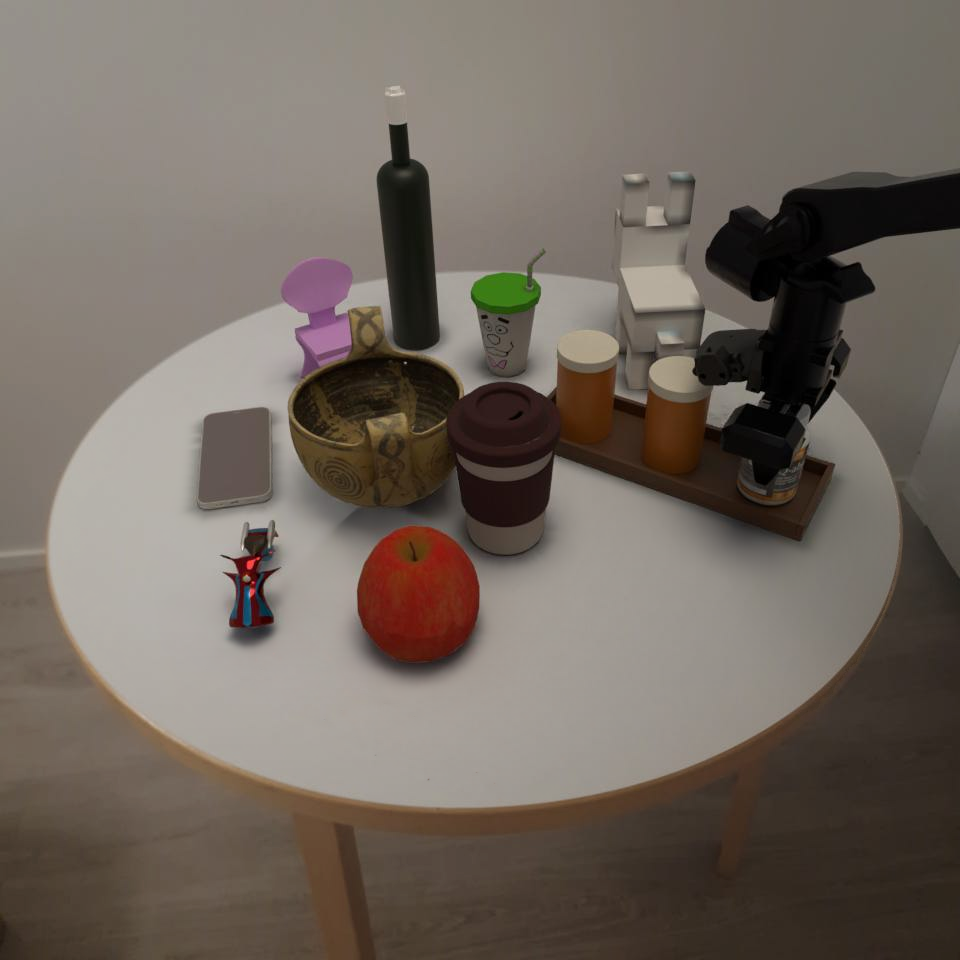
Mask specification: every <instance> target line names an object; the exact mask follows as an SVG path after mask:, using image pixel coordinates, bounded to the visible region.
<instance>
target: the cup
mask: <svg viewBox="0 0 960 960" xmlns="http://www.w3.org/2000/svg"><path fill="white" fill-rule="evenodd" d="M545 254H546V250H545V249H544V248H541V249H540V250H539V251H538V252H537V253H536V254H535V255H534V256H533V257H532V258H531V259H530V260H529V261H528V263H527V268H526V274H523V273H519V272H518V273H517V272H505V271H502V272H497V273H492V274H487V275H485V276H483V277H481V278H479V279H477V280H476V281H475V282H473V285H472V287H471V290H470V299H471V301H472V303H473V304H474V306H475V309H476V315H477V319H478V320H477V321H478V324H479V330H480V335H481V341H482V345H483V346H482V347H483V351H484V356H485V361H486V362H485V363H486V367H487V369H488V371H489V372H490V374H492V375H493V376H494V375H495V376H496V377H499V378H512V377H513V378H514V377H517V376H519V375H521V374H522V373H524V372H525V371H526V367H527V362H528V357H529V356H528V355H529V350H530V344H531V337H532V332H533V325H534V319H535V312H536V306H537V305H538V304H539V301H540V299H541V296H542V287H541V285H540V284H539V283H538V281H537V280H536V279H535V278H533V267H534V265H535V263H537V261H539V260H540V259H541V258H542V257H543V256H544V255H545Z"/></svg>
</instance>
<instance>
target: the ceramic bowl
mask: <svg viewBox="0 0 960 960" xmlns="http://www.w3.org/2000/svg"><path fill="white" fill-rule="evenodd" d="M346 313H347V314H348V316H349V323H350V332H351V342H352V344H351V350H350V352H349V353H348V355H347V356H346V357H344V358H341V359H338V360H336V361H333V362H330V363H328V364H325V365H323V366H321V367H319V368H317V369H316V370H314V371H313V372H311V373H310V374H308V375H307V376H305V377H302V378H301V379H300V381H299V382H298V383H297V384H296V385H295V387H294V388H293V389H292V391H291V393H290V395H289V397H288V401H287V414H288V426H289V427H288V428H289V434H290V438H291V442H292V445H293V447H294V450H295V453H296V455H297V457H298V460H299V461H300V463H301V465H302V466H303V469H304V470H305V472H306V473H307V475H308V476H309V477H310V479H312V480H313V481H314V483H315V484H316V485H317V486H319V488H321V489H322V490H323V491H324V492H325V493H327V494H328V495H330V496H331V497H332V498H335V499H337V500H339V501H342V502H344V503H347V504H350V505H354V506H357V507H363V508H370V509H388V508H389V509H390V508H396V507H401V506H406V505H410V504H412V503H414V502H415V503H416V502H417V501H420V500H422V499H424V498H426V497H427V496H430V495H431V494H433V493H434V492H435V491H436V490H438V489H439V488H440V487H441V486H443V485H444V483H445V482H446V481H447V480H448V479H449V478H450V476H451V475H452V473H453V472H454V470H456V464H455V458H454V449H453V448H452V447H451V445H450V443H449V441H448V437H447V428H446V419H447V414H448V412H449V410H450V409H451V407H452V406H453V405H454V404H455V403H456V402H457V401H458V400H459V399H460V398H462V397H463V396H465V387H464V385H463V383H462V380H461V379H460V377H459V375H458V374H457V373H456V372H455V371H454V369H453V368H451V366H449V365H448V364H446V363H445V362H444V361H441V360H439V359H437V358H435V357H433V356H430V355H426V354H423V353H419V352H413V351H403V350H400V349H396V348H394V347H393V346H392V345H391V344H390V343H389V341H388V339H387V335H386V330H385V326H384V318H383V311H382V306H381V305H372V306H356V307H353V308H349V309H348V310H347V312H346Z"/></svg>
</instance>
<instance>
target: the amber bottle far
mask: <svg viewBox="0 0 960 960" xmlns="http://www.w3.org/2000/svg"><path fill="white" fill-rule="evenodd" d="M619 355H620V354H619V344H618V342H617V341H616V340H615V337H613V336H612V335H610V334H608V333H606V332H604V331H599V330H593V329H579V330H574V331H571V332H568V333H566V334H564V335H563V336H561V338H560V339H558V341H557V344H556V358H557V362H556V363H557V365H556V366H557V367H556V368H557V369H556V387H557V396H556V406H557V408H558V410H559V412H560V415H561V437H563V438H564V439H567V440H570V441H573V442H576V443H580V444H590V443H595V442H599V441H601V440H603V439H605V438H606V437H607V436H608V435H609V434H610V432H611V429H612V417H613V405H614V394H615V393H616V392H615V391H616V378H617V368H618V367H617V366H618V361H619Z"/></svg>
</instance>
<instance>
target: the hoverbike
mask: <svg viewBox="0 0 960 960" xmlns="http://www.w3.org/2000/svg"><path fill="white" fill-rule="evenodd" d="M275 538H279V534H278V532H277V530H276V521H275V519H271V520H270V521H269V523H268V527H258V528H250V522H248V521H245V522H244V523H243V526H242V531H241V536H240V543H239V545H240V546H239V548H240V551H241V552H244V551H245V550H246V551H247V553H248V555H242V556H240V557H235V558H233V557H230V556H229V555H225V554H220V555H219V557H222V558H224V559H226V560H230V561H232V562H233V564H234V565H235V568H236V571H237V573H235V572H227V571H222V573H223V574H224V575H225V576H227V577H228V578H229V579H231V581H232V582H233V584H234V587H235V600H234V605H233V608H232V610H231V613H230V615H229V619H228V626H229V627H230V628H232V629H233V628H234V629H235V628H237V629H239V628H240V629H245V628H246V629H247V628H251V629H252V628H253V629H254V628H258V627H261V626H269V625H272V624H274V623H275V617H274V614H273V611H272V609H271V608H270V606H269V604H268V602H267V600H266V596H265V587H264V586H265V583H266V582H267V580H268V579H269V577H270V576H272V575H273V574H274V573H275V572H277V571H279V570H280V569H282V566H280V567H277V568H274V569H270V570H261V569H262V568H261V567H262V563H265V562H269V561H270V560H271V559H272V558H273V556H274V554H275V552H276V551H277V550H276V549H275V547H274V545H273V542H274V540H275Z"/></svg>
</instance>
